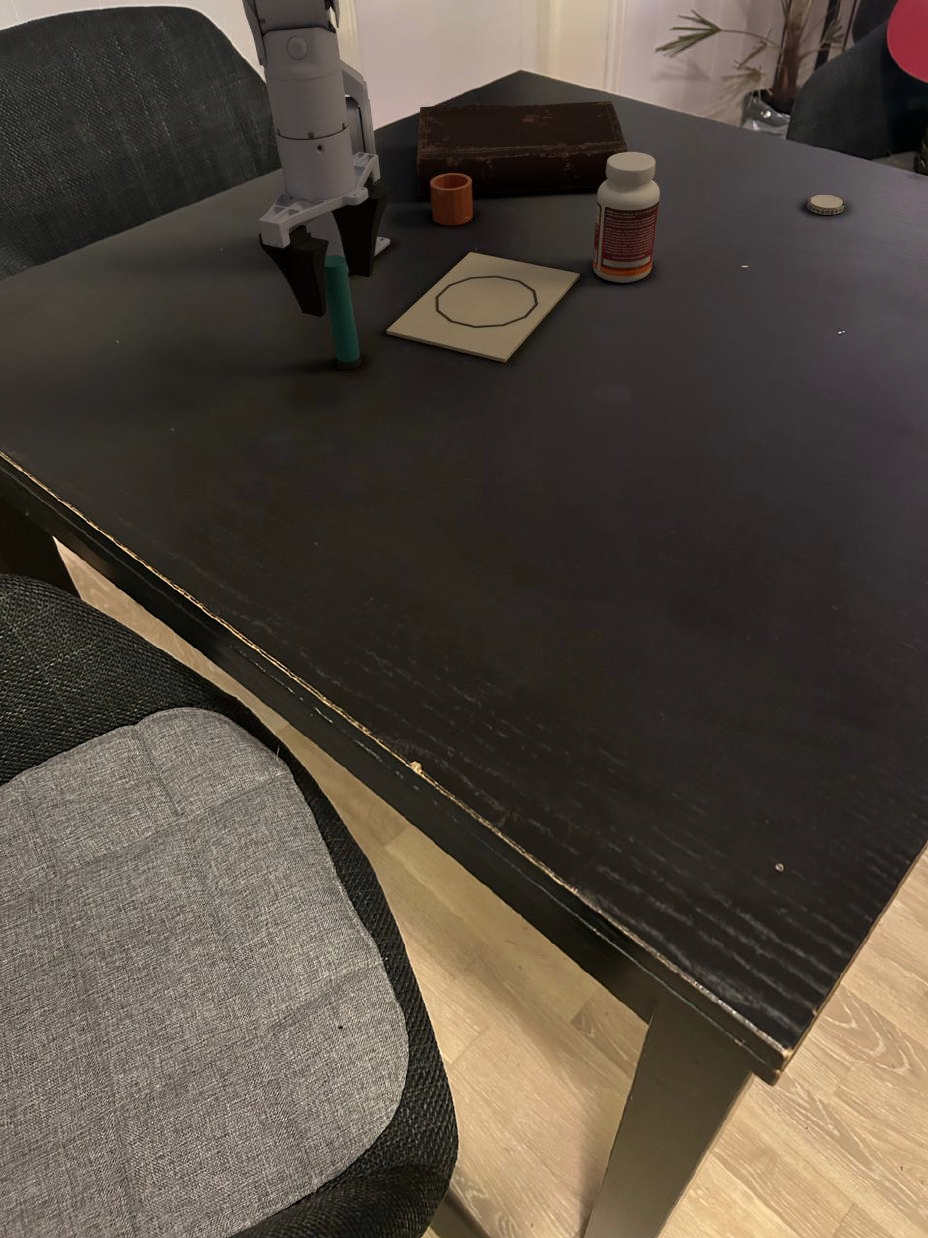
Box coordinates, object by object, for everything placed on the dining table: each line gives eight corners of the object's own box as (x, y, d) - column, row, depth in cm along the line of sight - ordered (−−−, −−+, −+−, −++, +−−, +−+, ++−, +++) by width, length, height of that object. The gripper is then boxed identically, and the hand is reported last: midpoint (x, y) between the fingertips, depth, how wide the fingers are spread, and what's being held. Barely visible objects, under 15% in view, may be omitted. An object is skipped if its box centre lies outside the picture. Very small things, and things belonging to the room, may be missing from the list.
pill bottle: (663, 272, 92) (677, 162, 84) (618, 290, 90) (628, 178, 82) (624, 251, 96) (634, 143, 87) (580, 268, 94) (586, 159, 85)
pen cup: (425, 221, 103) (422, 186, 100) (444, 205, 106) (442, 170, 103) (461, 228, 101) (459, 192, 98) (480, 211, 104) (479, 176, 101)
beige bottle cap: (802, 209, 100) (803, 204, 100) (813, 196, 102) (815, 191, 102) (837, 217, 99) (838, 211, 98) (848, 203, 101) (849, 198, 100)
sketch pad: (386, 333, 86) (386, 329, 86) (470, 255, 97) (470, 251, 96) (505, 362, 82) (505, 358, 81) (579, 277, 92) (580, 272, 92)
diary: (625, 192, 106) (629, 147, 102) (419, 202, 106) (415, 158, 103) (607, 135, 118) (610, 93, 115) (423, 144, 119) (420, 103, 115)
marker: (333, 366, 83) (315, 263, 75) (345, 355, 84) (329, 253, 77) (352, 371, 82) (336, 268, 75) (365, 360, 83) (350, 257, 76)
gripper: (300, 168, 62) (330, 341, 72) (403, 101, 70) (417, 265, 80) (222, 154, 64) (261, 324, 74) (330, 91, 73) (353, 252, 83)
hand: (338, 292), depth 78 cm, fingers open, 7 cm apart
